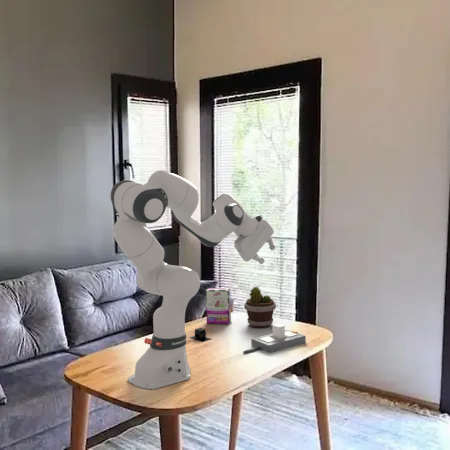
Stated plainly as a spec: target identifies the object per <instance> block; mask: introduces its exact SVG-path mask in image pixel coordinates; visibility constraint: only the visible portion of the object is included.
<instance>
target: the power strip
mask: <svg viewBox="0 0 450 450" xmlns="http://www.w3.org/2000/svg"><path fill="white" fill-rule="evenodd" d="M306 338H307V337H306V335H305V334H302V333H300V332H299V331H296V330H289V329H285V339H281V340H277V339H275V338H273V332H272V333H269V334H264V335H261V336H257V337H253V338H251V341H250V342H251V347H253V348H250V349H246V350H244V351H243V352H242V353H243V354H248V353H252V352H256V351H259V350H260V351H264V352H266V353H269V354H270V353H272V352H277V351H280V350H284V349H288V348H291V347H295V346H298V345H302V344H306V342H307V341H306Z"/></svg>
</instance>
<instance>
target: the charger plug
mask: <svg viewBox="0 0 450 450" xmlns="http://www.w3.org/2000/svg"><path fill="white" fill-rule="evenodd" d="M285 330H286V327H285V325H283V324H280V323H275V324H272V333H273V338H275V339H277V340H281V339H285Z"/></svg>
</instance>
